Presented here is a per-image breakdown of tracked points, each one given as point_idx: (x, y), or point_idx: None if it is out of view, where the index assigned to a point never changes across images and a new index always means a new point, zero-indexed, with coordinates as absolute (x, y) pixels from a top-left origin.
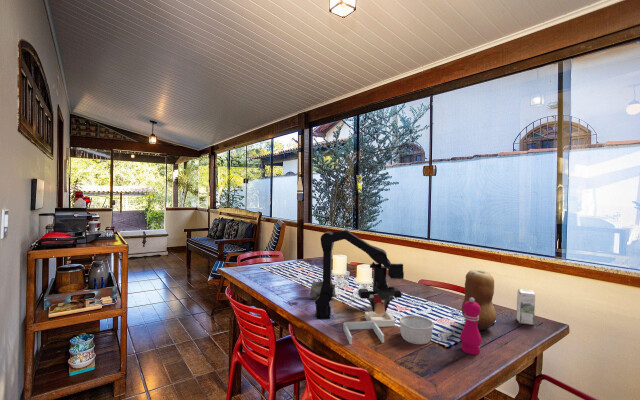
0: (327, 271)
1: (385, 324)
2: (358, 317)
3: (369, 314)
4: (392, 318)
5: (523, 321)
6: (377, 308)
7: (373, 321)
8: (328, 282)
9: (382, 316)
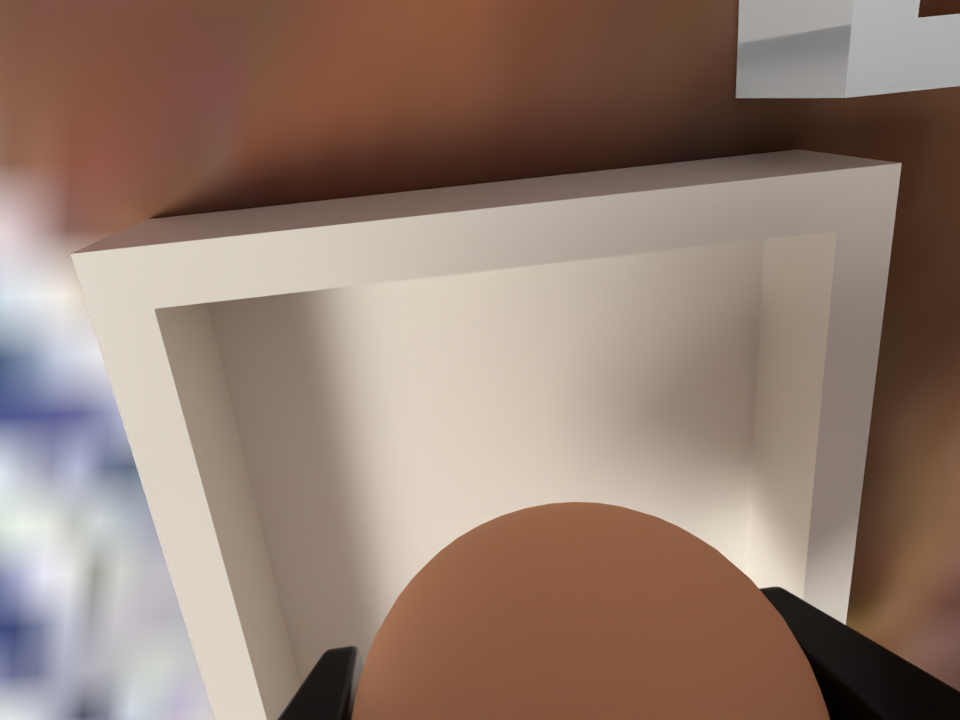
0: None
1: (409, 199)
2: (892, 636)
3: None
4: (141, 401)
5: None
6: (759, 642)
7: (889, 50)
8: None
9: None
